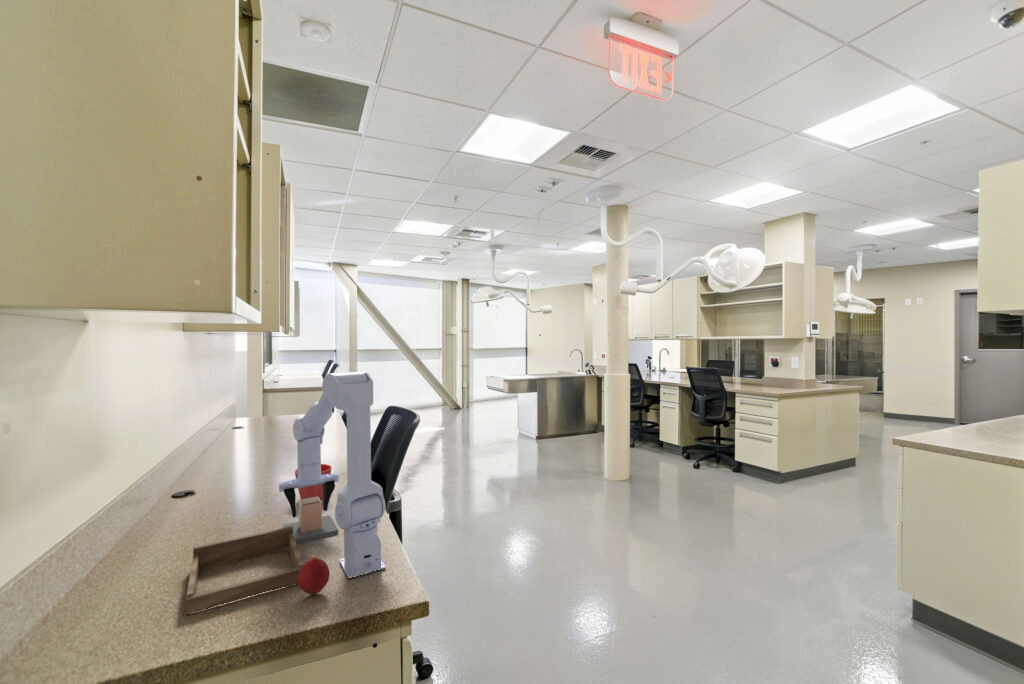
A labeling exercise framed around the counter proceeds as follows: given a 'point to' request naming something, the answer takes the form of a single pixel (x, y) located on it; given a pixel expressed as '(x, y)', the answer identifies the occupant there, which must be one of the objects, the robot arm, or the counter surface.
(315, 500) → the upright tan block
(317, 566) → the onion
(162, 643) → the counter surface
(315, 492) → the flower pot
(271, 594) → the counter surface
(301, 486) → the robot arm
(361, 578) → the counter surface
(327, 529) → the rubber mat
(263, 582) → the open wooden frame
